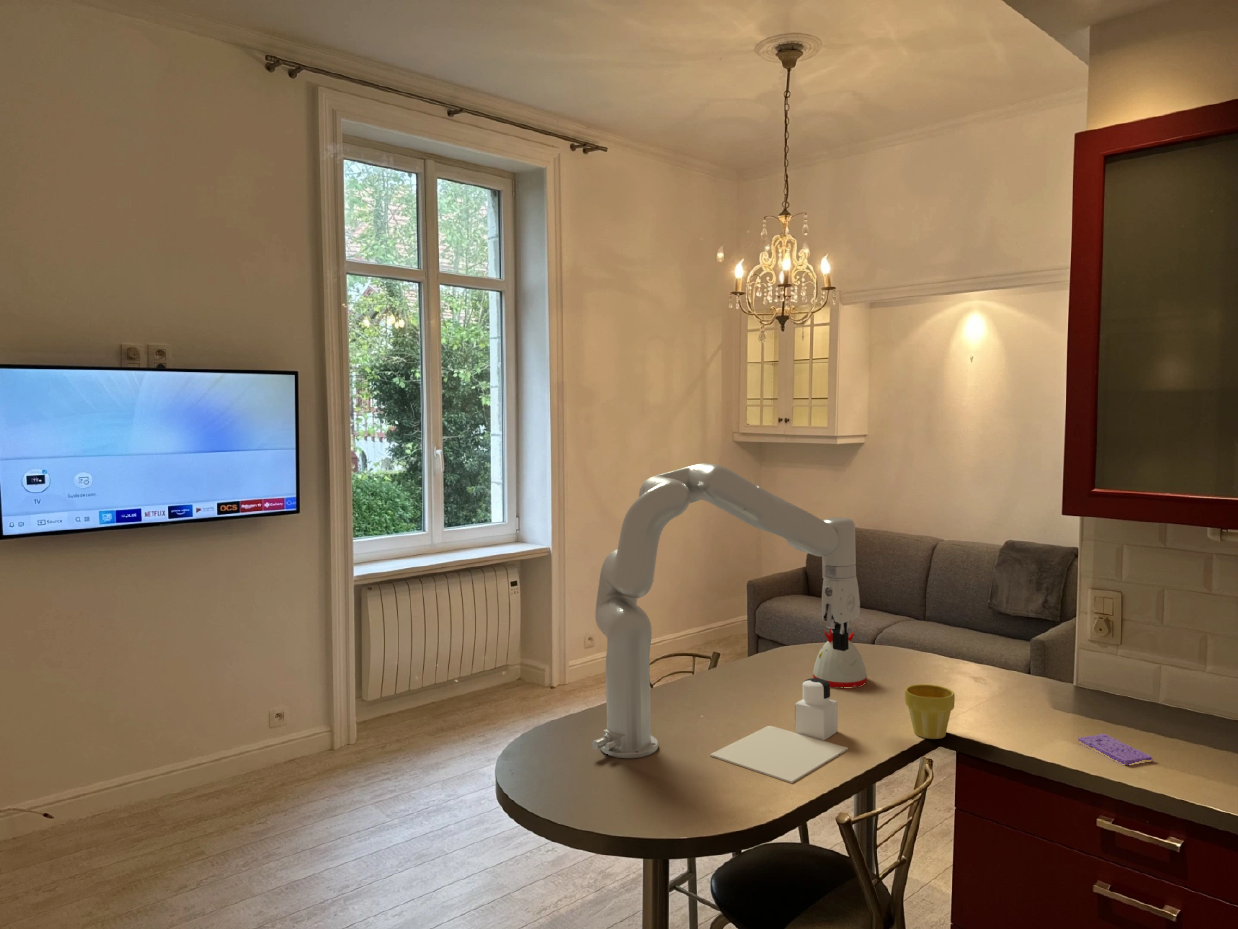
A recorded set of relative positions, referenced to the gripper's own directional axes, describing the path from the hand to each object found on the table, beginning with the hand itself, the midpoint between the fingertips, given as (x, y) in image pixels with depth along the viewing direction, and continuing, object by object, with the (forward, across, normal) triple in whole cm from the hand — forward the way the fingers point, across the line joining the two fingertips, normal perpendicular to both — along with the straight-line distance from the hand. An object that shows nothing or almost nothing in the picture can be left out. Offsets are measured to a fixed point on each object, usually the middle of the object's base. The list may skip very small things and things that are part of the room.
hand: (840, 649), depth 197 cm
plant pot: (+17, +5, -19) cm, 26 cm away
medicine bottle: (+17, -11, 0) cm, 20 cm away
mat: (+16, -26, 0) cm, 31 cm away
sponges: (+18, +20, -52) cm, 58 cm away
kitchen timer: (+18, +26, +15) cm, 35 cm away
